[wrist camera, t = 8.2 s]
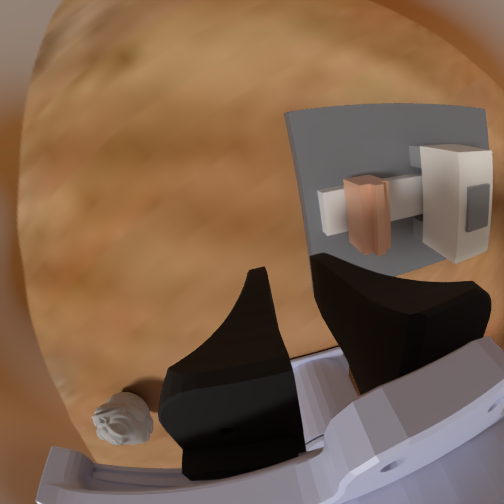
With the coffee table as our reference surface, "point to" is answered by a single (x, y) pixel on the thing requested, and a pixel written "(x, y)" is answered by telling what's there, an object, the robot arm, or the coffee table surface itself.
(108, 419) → the grey sculpted head
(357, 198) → the rail clip
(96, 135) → the coffee table surface
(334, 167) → the rail board
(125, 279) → the coffee table surface
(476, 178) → the block
